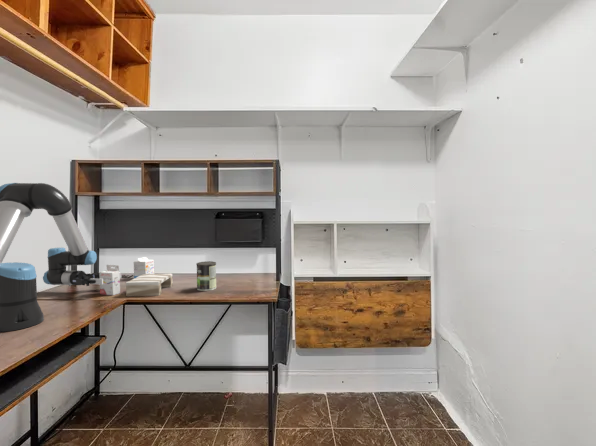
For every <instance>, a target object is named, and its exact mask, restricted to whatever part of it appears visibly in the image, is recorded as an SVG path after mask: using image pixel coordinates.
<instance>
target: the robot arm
mask: <svg viewBox="0 0 596 446" xmlns="http://www.w3.org/2000/svg"><path fill="white" fill-rule="evenodd" d="M34 210H45V211H46V212H47V214H48V215H49V216H50V217H52V219H53V220H54V223H55V224H56V226H57V228H58V230H59V231H60V234H61V236H62V238H63V240H64V243H65V245H66V246H67V248H68V250H66V248H65V247H53V248H52V247H51V248H49V249H47V250H48V251H47V264H48V265H47V266H48V268H47V271H45V272H44V274H43V276H42V281H43V282H44V283H45V284H47V285H52V286H68V287H71V286H86V287H88V286H90V285H100V284H103V279H100V275H99V272H92V273H86V272H85V271H83V270H69V269H68V270H67V266H69V267H70V266H93V265H95V263H96V262H97V260H98V259H97V258H98V257H97V256H98V255H97V252H96V251H94V250H89V248H88V245H87V243H86V241H85V240H84V237H83V234H82V233H81V230H80V228H79V225H78V224H77V221H76V220H75V219H76V218H75V217H74V214H73V212H72V210H73V206H72V204H71V202H70V200H69V199H68V197H67V196H66V195H65V194H64V193H63V192H62V191H61V190H59V189H58V188H57V187H55V186H53V185H50V184H48V183H46V182H45V183H42V182H37V183H34V182H33V183H32V182H30V183H28V182H27V183H23V182H21V183H19V182H11V183H5V184H2V185H1V186H0V332H3V333H4V332H12V331H18V330H22V329H27V328H31V327H33V326H36V325H38V324H40V323H43V322H44V320H45V315H44V313H43V311H42V309H41V307H40V305H39V303H38V293H37V291H38V290H37V272H36V268H35V266H34V265H33V264H32V263H28V262H19V261H18V262H3V261H4V259H5V257H6V256H7V254H8V251H9V249H10V247H11V245H12V243H13V241H14V239H15V237H16V236H17V233H18V232H19V229H20V228H21V226H22V224H23V223H22V222H23V221H24V220H25V218H28V217H30V216H31V215H32V213H33V211H34ZM119 273H120V279H122V273H121V272H119Z"/></svg>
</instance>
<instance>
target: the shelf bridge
mask: <svg viewBox="0 0 596 446" xmlns="http://www.w3.org/2000/svg"><path fill="white" fill-rule="evenodd" d="M173 281H174V280H173V273H154V274H143V275H141V276H139V277H136V278H134V277H133V278H132V279H130V280H128V281H126V282H125V294H126V297H156V296H157V297H158V296H159V297H160V296H161V295H162V288H172V287H173V286H174V285H173V284H174V283H173Z"/></svg>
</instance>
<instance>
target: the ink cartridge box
mask: <svg viewBox="0 0 596 446" xmlns="http://www.w3.org/2000/svg"><path fill="white" fill-rule="evenodd" d="M119 267H120V266H119V265H117V264H106V270H103V271H99V272H98V273H99V275H100V279H103V284H99V294H100V295H104V296H115V295H116V296H117V295H118V294H121V278H120V273H121V272H120V268H119Z"/></svg>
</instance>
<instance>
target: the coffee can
mask: <svg viewBox="0 0 596 446" xmlns="http://www.w3.org/2000/svg"><path fill="white" fill-rule="evenodd" d="M216 289H217V262H216V261H212V260H211V261H208V260H207V261H199V262H196V290H197V291H201V292H209V291H213V290H216Z"/></svg>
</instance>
